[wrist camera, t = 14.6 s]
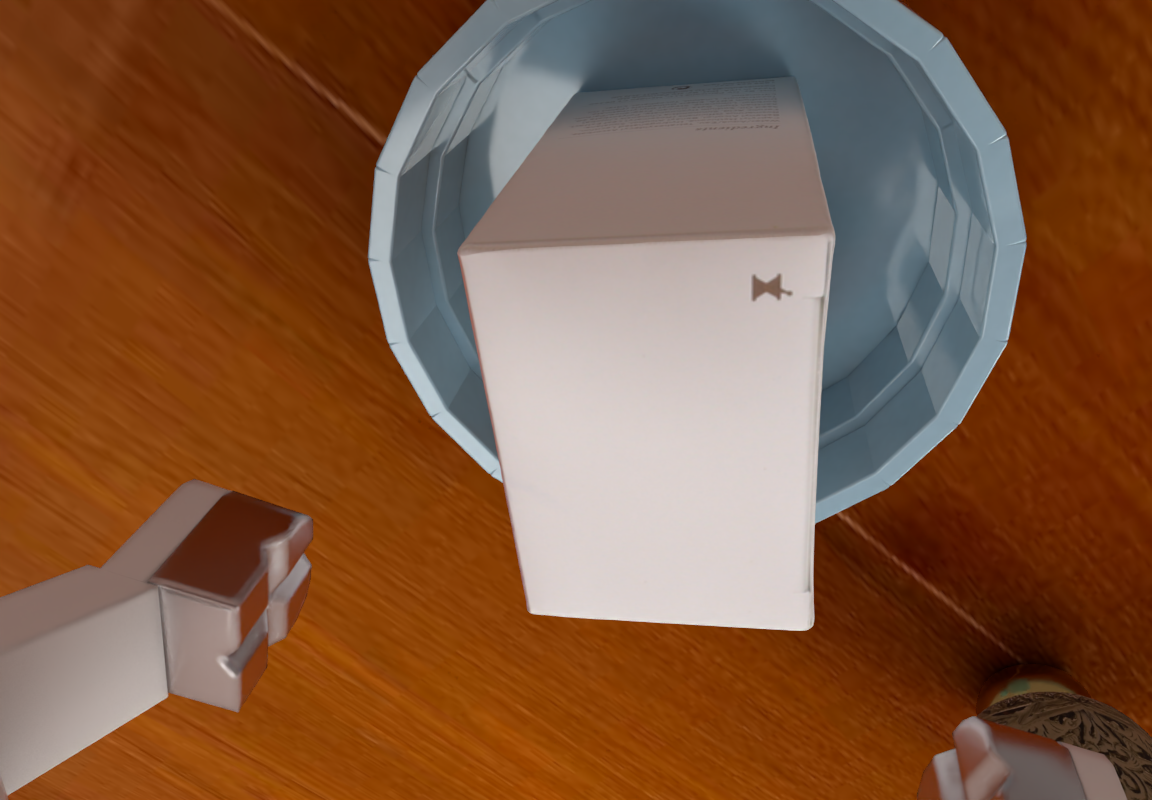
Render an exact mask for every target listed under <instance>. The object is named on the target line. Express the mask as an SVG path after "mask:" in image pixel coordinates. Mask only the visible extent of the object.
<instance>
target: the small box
mask: <svg viewBox="0 0 1152 800" xmlns="http://www.w3.org/2000/svg"><path fill="white" fill-rule="evenodd" d="M834 247H835V231H834V227H833V225H832V221H831V217H830V213H829V209H828V205H827V200H826V196H825V192H824V188H823V185H822V181H821V177H820V171H819V167H818V161H817V157H816V152H815V149H814V144H813V139H812V135H811V132H810V127H809V123H808V119H807V116H806V112H805V107H804V104H803V99H802V97H801V93H800V89H799V85H798V82H797V79H796V78H795V77H793V76H788V77H778V78H766V79H752V80H738V81H725V82H711V83H698V84H684V85H670V86H656V87H644V88H631V89H618V90H606V91H594V92H579V93H576V94H574V95H573V96H572V98H571V99H570V100H569V102H568V103H567V104H566V106H565V107H564V108H563V110H562V111H561V112H560V113H559V115H558V116H557V117H556V119H555V120H554V122H553V123H552V124H551V125H550V127H549V128H548V129H547V130H546V132H545V134H544V135H543V136H542V138H541V139H540V140H539V142H538V143H537V144H536V145H535V147H534V148H533V150H532V151H531V152H530V153H529V155H528V156H527V157H526V159H525V160H524V162H523V163H522V164H521V165H520V167H519V169H518V170H517V171H516V172H515V173H514V175H513V176H512V177H511V179H510V180H509V182H508V183H507V184H506V185H505V187H504V188H503V189H502V191H501V192H500V193H499V195H498V196H497V197H496V199H495V200H494V202H493V203H492V204H491V206H490V207H489V208H488V210H487V211H486V213H485V214H484V215H483V217H482V218H481V220H480V221H479V222H478V223H477V224H476V226H475V227H474V228H473V230H472V231H471V233H470V234H469V236H468V237H467V238H466V240H465V241H464V242H463V243H462V245H461V246H460V247H459V249H458V252H457V255H458V259H459V263H460V267H461V272H462V277H463V282H464V287H465V292H466V298H467V303H468V309H469V314H470V320H471V324H472V329H473V334H474V339H475V344H476V348H477V353H478V358H479V364H480V369H481V374H482V379H483V384H484V389H485V394H486V399H487V404H488V409H489V414H490V419H491V423H492V428H493V433H494V439H495V444H496V450H497V454H498V459H499V464H500V468H501V475H502V480H503V484H504V489H505V495H506V500H507V505H508V510H509V515H510V519H511V524H512V530H513V535H514V541H515V546H516V551H517V556H518V562H519V567H520V572H521V577H522V582H523V587H524V592H525V597H526V604H527V611H529V612H530V613H532V614H538V615H551V616H561V617H574V618H589V619H607V620H625V621H640V622H656V623H673V624H690V625H707V626H724V627H741V628H758V629H776V630H795V631H804V630H809V629H810V628H811V627H812V626H813V623H814V618H815V617H814V587H813V566H814V531H815V509H816V488H817V466H818V445H819V427H820V409H821V391H822V373H823V355H824V341H825V331H826V321H827V310H828V300H829V290H830V280H831V270H832V260H833V252H834Z"/></svg>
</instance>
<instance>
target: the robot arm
mask: <svg viewBox="0 0 1152 800" xmlns="http://www.w3.org/2000/svg"><path fill="white" fill-rule="evenodd" d="M312 540H313V519H312V518H310V517H309V516H308V515H305V514H302V513H299V512H296V511H293V510H289V509H286V508H283V507H280V506H277V505H274V504H271V503H268V502H265V501H262V500H259V499H256V498H253V497H250V496H247V495H244V494H241V493H238V492H235V491H230V490H227V489H224V488H221V487H218V486H215V485H212V484H209V483H205V482H202V481H199V480H196V479H193V480H191V481H189V482H186V483H184V484H182V485H181V486H180V487H179V488H178V489H177V490H176V491H175V492H174V493H173V494H172V495H171V496H170V497H169V498H168V499H167V500H166V501H165V502H164V503H163V504H162V505H161V506H160V507H159V508H158V509H157V510H156V511H155V512H154V513H153V514H152V515H151V516H150V518H149V519H148V520H147V521H146V522H145V523H144V524H143V525H142V526H141V527H140V528H139V529H138V530H137V531H136V532H135V533H134V534H133V535H132V536H131V537H130V538H129V539H128V540H127V541H126V542H125V543H124V544H123V545H122V546H121V547H120V548H119V549H118V550H117V551H116V552H115V554H114V555H113V556H112V557H111V558H110V559H109V560H108V561H107V562H106V563H105V564H104V565H103V566H102V567H101V568H98V567H94V566H91V565H86V566H84V567H81V568H78V569H76V570H73V571H70V572H68V573H65V574H62V575H59V576H57V577H54V578H51V579H49V580H46V581H43V582H41V583H38V584H35V585H33V586H30V587H27V588H25V589H22V590H19V591H16V592H14V593H11V594H8V595H6V596H3V597H0V800H8V795H9V794H11V793H12V792H14V791H16V790H17V789H19V788H21V787H22V786H24V785H26V784H27V783H29V782H30V781H32V780H34V779H35V778H37V777H39V776H40V775H42V774H43V773H45V772H47V771H48V770H50V769H52V768H53V767H55V766H56V765H58V764H60V763H61V762H63V761H65V760H66V759H68V758H69V757H71V756H73V755H74V754H76V753H78V752H79V751H81V750H83V749H84V748H86V747H87V746H89V745H91V744H92V743H94V742H96V741H97V740H99V739H100V738H102V737H104V736H105V735H107V734H109V733H110V732H112V731H113V730H115V729H117V728H118V727H120V726H122V725H123V724H125V723H126V722H128V721H130V720H131V719H133V718H135V717H136V716H138V715H140V714H141V713H143V712H144V711H146V710H148V709H149V708H151V707H153V706H154V705H156V704H157V703H159V702H161V701H162V700H164V699H166V698H167V697H168V692H169V693H172V694H176V695H179V696H183V697H186V698H190V699H193V700H197V701H200V702H204V703H207V704H211V705H214V706H218V707H222V708H225V709H229V710H232V711H236V712H239V710H240V709H241V707H242V706H243V704H244V703H245V701H246V699H247V698H248V696H249V695H250V693H251V692H252V690H253V688H254V687H255V685H256V684H257V682H258V681H259V679H260V678H261V676H262V674H263V673H264V671H265V670H266V668H267V660H268V646H270V645H272V644H274V643H276V642H278V641H280V640H282V639H284V638H286V636H287V635H288V633H289V632H290V630H291V628H292V627H293V625H294V623H295V622H296V620H297V618H298V616H299V613H300V611H301V608H302V606H303V604H304V601H305V599H306V597H307V592H308V588H309V584H310V579H311V563H310V562H309V560H308V559H307V557H306V556H305V554H304V552H305V550H306V549H307V547H308V546H309V544H310V543H311V541H312ZM952 735H953V739H954V744H955V749H952V750H949V751H946V752H943V753H940V754H937V755H935V756H934V757H933V759H932V760H931V762H930V763H929V764H928V766H927V767H926V769H925V770H924V772H923V774H922V778H921V782H920V785H919V789H918V793H917V800H1127V798H1126V795H1125V793H1124V790H1123V788H1122V785H1121V783H1120V780H1119V778H1118V775H1117V773H1116V770H1115V768H1114V766H1113V764H1112V763H1111V762H1110V761H1109V760H1108V759H1107V758H1106V756H1105V755H1104V754H1100V753H1097V752H1094V751H1090V750H1087V749H1083V748H1080V747H1077V746H1073V745H1070V744H1066V743H1063V742H1056V741H1055V740H1053V739H1050V738H1047V737H1043V736H1040V735H1036V734H1033V733H1030V732H1026V731H1023V730H1019V729H1016V728H1012V727H1009V726H1006V725H1002V724H999V723H995V722H992V721H988V720H985V719H982V718H978V717H975V716H973V717H970V718H968V719H966V720H963V721H962V722H961V723H960V725H959V726H958V727H957V728H956V729H955V731H954V732H953V733H952Z"/></svg>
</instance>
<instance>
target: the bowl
mask: <svg viewBox="0 0 1152 800" xmlns="http://www.w3.org/2000/svg"><path fill="white" fill-rule="evenodd" d="M788 76H793V77H795V78H796V79H797V82H798V85H799V89H800V93H801V97H802V99H803V104H804V107H805V112H806V116H807V119H808V123H809V127H810V132H811V135H812V139H813V144H814V149H815V152H816V157H817V161H818V167H819V171H820V177H821V181H822V185H823V188H824V192H825V196H826V200H827V205H828V209H829V213H830V217H831V221H832V225H833V227H834V231H835V247H834V252H833V260H832V270H831V280H830V290H829V300H828V310H827V321H826V331H825V341H824V355H823V373H822V391H821V409H820V427H819V445H818V466H817V488H816V509H815V523H817V522H820V521H822V520H824V519H826V518H828V517H830V516H832V515H834V514H836V513H838V512H840V511H842V510H844V509H846V508H848V507H850V506H852V505H854V504H856V503H858V502H860V501H862V500H865V499H867V498H869V497H871V496H873V495H875V494H877V493H879V492H881V491H883V490H885V489H887V488H888V487H889V485H890V486H891V485H893V484H894V483H895V482H896V481H897V480H899V479H900V478H901V477H902V476H903V475H904V474H905V473H906V472H907V471H909V470H910V469H911V468H912V467H913V466H914V465H915V464H916V463H917V462H919V461H920V460H921V459H922V458H923V457H924V456H925V455H926V454H927V453H929V452H930V451H931V450H932V449H933V448H934V447H935V446H936V445H937V444H939V443H940V442H941V441H942V440H943V439H944V438H945V437H946V436H947V435H949V434H950V433H951V432H952V431H953V430H954V429H955V428H956V427H957V426H958V424H960V423H961V422H962V420H963V418H964V417H965V415H966V413H967V411H968V410H969V408H970V406H971V405H972V403H973V401H974V400H975V398H976V396H977V394H978V393H979V391H980V389H981V388H982V386H983V384H984V382H985V381H986V379H987V377H988V376H989V374H990V372H991V371H992V369H993V367H994V365H995V364H996V362H997V360H998V359H999V357H1000V355H1001V353H1002V352H1003V350H1004V348H1005V347H1006V345H1007V340H1008V339H1009V335H1010V329H1011V324H1012V319H1013V314H1014V308H1015V303H1016V298H1017V293H1018V287H1019V282H1020V277H1021V272H1022V266H1023V261H1024V256H1025V251H1026V245H1027V243H1026V238H1027V236H1026V230H1025V225H1024V219H1023V214H1022V208H1021V203H1020V198H1019V192H1018V187H1017V181H1016V176H1015V170H1014V165H1013V159H1012V154H1011V148H1010V143H1009V137H1008V136H1007V135H1006V134H1007V133H1006V130H1005V128H1004V127H1003V125H1002V124H1001V122H1000V120H999V119H998V117H997V116H996V114H995V113H994V111H993V109H992V108H991V106H990V105H989V103H988V101H987V100H986V98H985V97H984V95H983V94H982V92H981V90H980V89H979V87H978V86H977V84H976V82H975V81H974V79H973V78H972V76H971V75H970V73H969V71H968V70H967V68H966V67H965V65H964V64H963V62H962V60H961V59H960V57H959V56H958V54H957V52H956V51H955V49H954V48H953V46H952V45H951V43H950V41H949V40H948V38H947V37H945V36H944V35H943V33H942V32H941V31H939V30H938V29H937V28H936V27H934V26H933V25H932V24H931V23H929V22H928V21H927V20H926V19H924V18H923V17H922V16H921V15H919V14H918V13H917V12H916V11H914V10H913V9H912V8H910V7H909V6H908V5H907V4H905V3H904V2H903V1H901V0H486V1H485V2H484V3H483V4H482V5H481V6H480V7H479V8H478V9H477V10H476V12H475V13H474V14H473V15H472V16H471V17H470V18H469V19H468V20H467V21H466V22H465V23H464V24H463V25H462V26H461V27H460V28H459V29H458V30H457V31H456V32H455V33H454V35H453V36H452V37H451V38H450V39H449V40H448V41H447V42H446V43H445V44H444V45H443V46H442V47H441V48H440V49H439V50H438V51H437V52H436V53H435V54H434V55H433V56H432V58H431V59H430V60H429V61H428V62H427V63H426V64H425V65H424V66H423V67H422V68H421V69H420V70H419V71H418V73H417V75H416V76H415V77H414V79H413V81H412V84H411V86H410V88H409V90H408V93H407V95H406V97H405V99H404V102H403V104H402V106H401V108H400V111H399V113H398V115H397V117H396V120H395V122H394V124H393V127H392V129H391V131H390V133H389V136H388V138H387V140H386V142H385V145H384V147H383V149H382V151H381V154H380V156H379V158H378V161H377V163H376V168H375V174H374V187H373V199H372V211H371V224H370V236H369V248H368V258H369V260H368V262H369V266H370V271H371V275H372V279H373V283H374V287H375V292H376V296H377V300H378V304H379V308H380V312H381V317H382V321H383V325H384V329H385V333H386V338H387V342H388V343H390V344H389V346H390V348H391V350H392V352H393V353H394V355H395V357H396V358H397V360H398V362H399V364H400V365H401V367H402V369H403V370H404V372H405V374H406V376H407V377H408V379H409V381H410V382H411V384H412V386H413V388H414V389H415V391H416V393H417V394H418V396H419V398H420V400H421V401H422V403H423V405H424V407H425V408H426V410H427V412H428V413H429V415H430V416H432V419H433V420H434V421H435V422H436V423H437V424H438V425H439V426H440V427H441V428H442V429H443V430H444V431H445V432H446V433H447V434H448V435H449V436H450V437H451V438H453V439H454V440H455V441H456V442H457V443H458V444H459V445H460V446H461V447H462V448H463V449H464V450H465V451H466V452H467V453H468V454H469V455H470V456H471V457H472V458H473V459H474V460H475V461H476V462H477V463H478V464H479V465H480V466H481V467H482V468H483V469H484V470H485V471H486V472H487V473H489V474H491V476H492V477H494V478H495V479H497V480H499V481H501V482H502V483H503V480H502V475H501V468H500V464H499V459H498V454H497V450H496V444H495V439H494V433H493V428H492V423H491V419H490V414H489V409H488V404H487V399H486V394H485V389H484V384H483V379H482V374H481V369H480V364H479V358H478V353H477V348H476V344H475V339H474V334H473V329H472V324H471V320H470V314H469V309H468V303H467V298H466V292H465V287H464V282H463V277H462V272H461V267H460V263H459V259H458V255H457V252H458V249H459V247H460V246H461V245H462V243H463V242H464V241H465V240H466V238H467V237H468V236H469V234H470V233H471V231H472V230H473V228H474V227H475V226H476V224H477V223H478V222H479V221H480V220H481V218H482V217H483V215H484V214H485V213H486V211H487V210H488V208H489V207H490V206H491V204H492V203H493V202H494V200H495V199H496V197H497V196H498V195H499V193H500V192H501V191H502V189H503V188H504V187H505V185H506V184H507V183H508V182H509V180H510V179H511V177H512V176H513V175H514V173H515V172H516V171H517V170H518V169H519V167H520V165H521V164H522V163H523V162H524V160H525V159H526V157H527V156H528V155H529V153H530V152H531V151H532V150H533V148H534V147H535V145H536V144H537V143H538V142H539V140H540V139H541V138H542V136H543V135H544V134H545V132H546V130H547V129H548V128H549V127H550V125H551V124H552V123H553V122H554V120H555V119H556V117H557V116H558V115H559V113H560V112H561V111H562V110H563V108H564V107H565V106H566V104H567V103H568V102H569V100H570V99H571V98H572V96H573V95H574V94H576V93H579V92H594V91H606V90H618V89H631V88H644V87H656V86H670V85H684V84H698V83H711V82H725V81H738V80H752V79H766V78H778V77H788Z"/></svg>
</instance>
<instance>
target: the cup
mask: <svg viewBox="0 0 1152 800" xmlns="http://www.w3.org/2000/svg"><path fill="white" fill-rule="evenodd" d="M976 714H977V716H976V717H978V718H982V719H985V720H988V721H992V722H995V723H999V724H1002V725H1006V726H1009V727H1012V728H1016V729H1019V730H1023V731H1026V732H1030V733H1033V734H1036V735H1040V736H1043V737H1047V738H1050V739H1053V740H1055V741H1056V742H1063V743H1066V744H1070V745H1073V746H1077V747H1080V748H1083V749H1087V750H1090V751H1094V752H1097V753H1100V754H1104V755H1105V756H1106V758H1107V759H1108V760H1109V761H1110V762H1111V763H1112V764H1113V766H1114V768H1115V770H1116V773H1117V775H1118V778H1119V780H1120V783H1121V785H1122V788H1123V790H1124V793H1125V795H1126V798H1127V800H1152V738H1151V737H1150V736H1149V734H1148V733H1147V732H1146V731H1144V730H1143V729H1142V728H1141V727H1140V726H1139V725H1137V724H1136V723H1135V722H1134V721H1133V720H1131V719H1130V718H1129V717H1127V716H1126V715H1124V714H1123V713H1121V712H1119V711H1118V710H1116V709H1114V708H1113V707H1111V706H1109V705H1107V704H1104V703H1102V702H1099V701H1097V700H1094V699H1092V698H1091V696H1090V694H1089V693H1088V691H1087V690H1086V689H1085V688H1084V687H1083V686H1082V685H1081V684H1080V683H1079V682H1078V681H1077V680H1076V679H1075V678H1073V677H1072V676H1071V675H1069V674H1068V673H1066V672H1064V671H1062V670H1060V669H1058V668H1055V667H1051V666H1047V665H1041V664H1022V665H1016V666H1012V667H1008V668H1005V669H1003V670H1001V671H999V672H997V673H995V674H994V675H992V676H991V677H990V678H988V679H987V680H986V682H985V683H984V684H983V686H982V687H981V689H980V692H979V695H978V699H977V703H976Z"/></svg>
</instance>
